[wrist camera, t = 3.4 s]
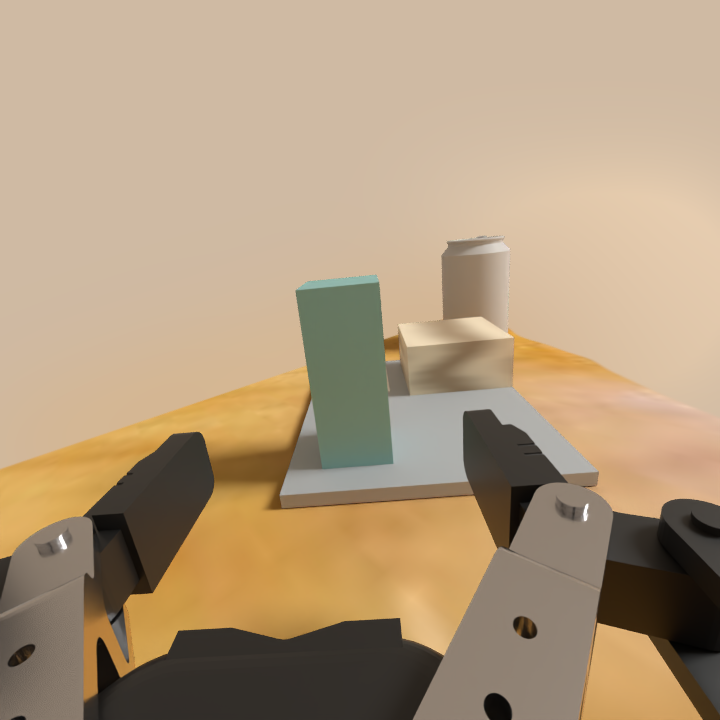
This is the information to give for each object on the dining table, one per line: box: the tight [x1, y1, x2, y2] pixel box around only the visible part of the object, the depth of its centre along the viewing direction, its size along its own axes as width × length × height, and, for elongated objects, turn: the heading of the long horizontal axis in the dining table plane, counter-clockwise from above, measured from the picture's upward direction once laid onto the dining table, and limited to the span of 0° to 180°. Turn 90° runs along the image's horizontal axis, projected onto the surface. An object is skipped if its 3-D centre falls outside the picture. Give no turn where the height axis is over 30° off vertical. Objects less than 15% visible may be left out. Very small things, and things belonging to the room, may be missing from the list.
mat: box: [279, 360, 599, 508], centre depth 28 cm, size 16×20×1 cm
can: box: [442, 236, 510, 333], centre depth 43 cm, size 8×8×12 cm
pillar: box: [296, 275, 393, 469], centre depth 21 cm, size 4×4×10 cm
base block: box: [398, 317, 514, 396], centre depth 32 cm, size 8×8×4 cm
